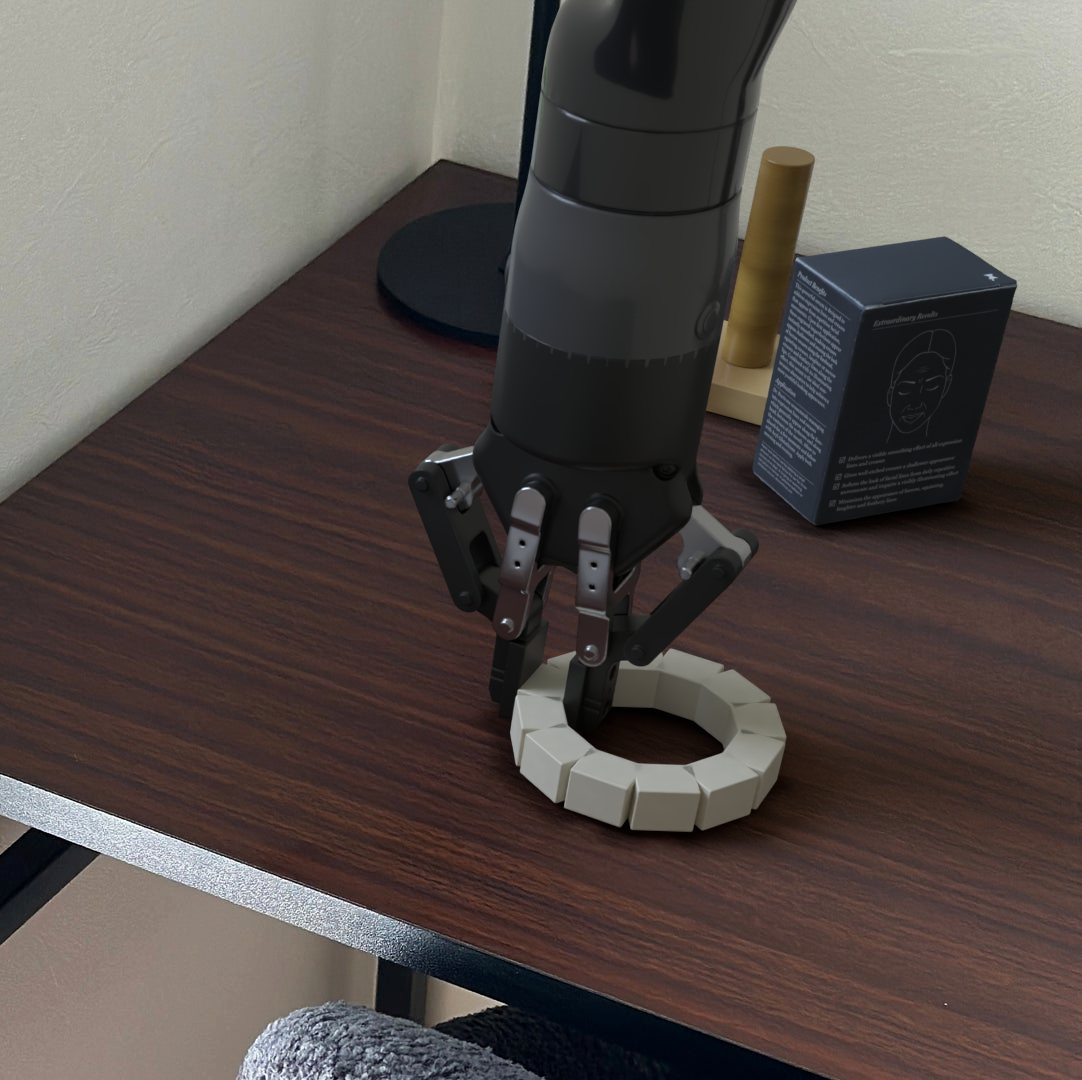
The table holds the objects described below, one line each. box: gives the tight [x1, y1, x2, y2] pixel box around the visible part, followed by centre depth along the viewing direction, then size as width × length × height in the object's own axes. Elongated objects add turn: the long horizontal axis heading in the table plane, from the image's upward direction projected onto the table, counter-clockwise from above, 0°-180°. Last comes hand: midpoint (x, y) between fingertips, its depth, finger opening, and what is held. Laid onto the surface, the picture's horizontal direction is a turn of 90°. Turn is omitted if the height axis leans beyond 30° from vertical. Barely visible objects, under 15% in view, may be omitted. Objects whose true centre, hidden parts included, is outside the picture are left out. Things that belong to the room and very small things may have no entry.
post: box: [706, 145, 816, 427], centre depth 112 cm, size 7×7×12 cm
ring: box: [509, 648, 787, 833], centre depth 90 cm, size 10×10×2 cm
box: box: [751, 235, 1018, 526], centre depth 105 cm, size 8×6×11 cm
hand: (545, 719), depth 92 cm, fingers closed on ring, 2 cm apart
